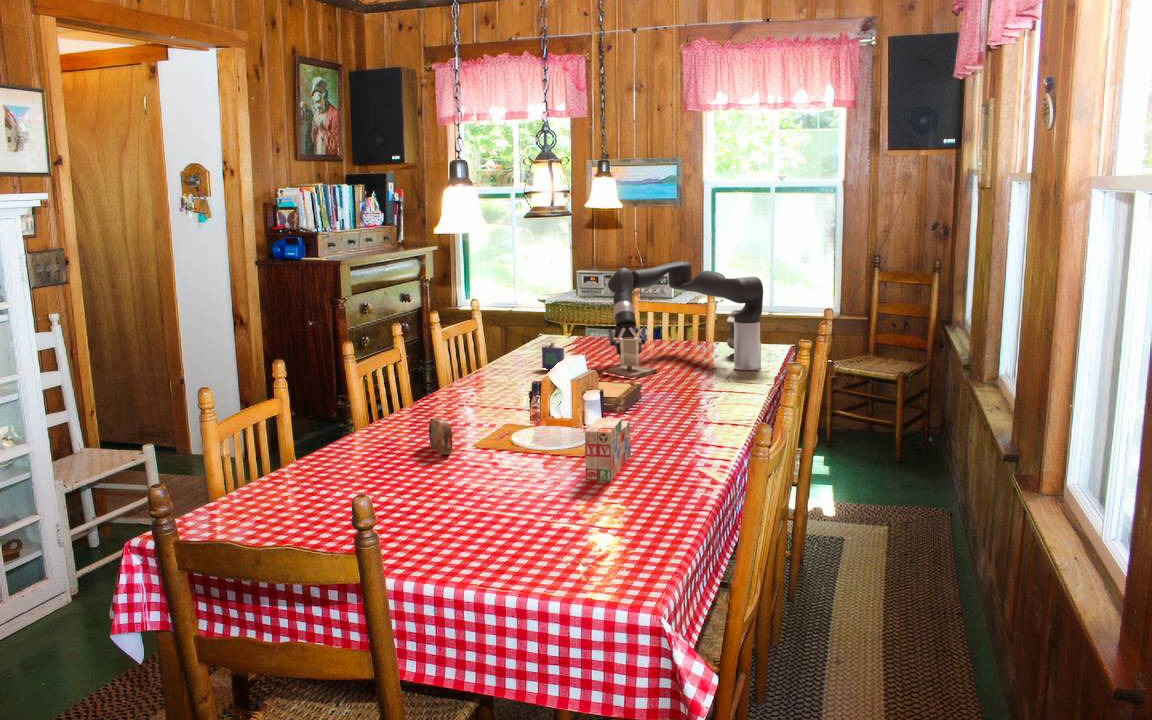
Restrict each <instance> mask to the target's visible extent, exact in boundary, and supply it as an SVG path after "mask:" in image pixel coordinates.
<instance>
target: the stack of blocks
mask: <svg viewBox="0 0 1152 720" xmlns="http://www.w3.org/2000/svg"><path fill="white" fill-rule="evenodd" d="M630 430H631V429H630V420H622V418H619V417H618V418H614V417H613V418H612V417H597V418H596V419H595V420H594V421H593V423H592V424H590V425H589V427H587V428H586V429H585V430H584V441H585V442H584V445H585V446H584V449H585V452H584V453H585V454H584V455H585V481H597V482H598V481H599V482H610V481H611V482H612V481H613V480H614V479H615V478H614V477H616V476H617V475H618V474H619V472H620V471H621V469H622V468H623V466H624V465H625V463H626V462H627V461H628V460H629V458H630V457H631V432H630ZM617 473H618V474H617ZM616 474H617V475H616ZM613 478H614V479H613ZM612 479H613V480H612Z"/></svg>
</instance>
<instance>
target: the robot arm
mask: <svg viewBox="0 0 1152 720" xmlns="http://www.w3.org/2000/svg"><path fill="white" fill-rule="evenodd" d="M692 272H693V268H692V263H691V262H689V261H683V260H682V261H680V260H679V261H673V262H671V261H670V262H668V263H664V264H659V265H657V266H654V267H650V268H645V269H644V268H642V269H635V270H630V269H628V268H626V267H620V268H618V269H617V270H616V271H615V272H614V274H613V275H612V276H611V277H610V278H609V280H608V283H607V286H608V287H607V288H608V289H609V291H610V292H612V293H613V309H614V310H613V312H614V313H613V314H614V315H613V316H614V322H615V329H611V328H609V329H608V330H607V335H608V340H609V345H610V346H611V347H615V350H616V354H617V355H618V356H619V355H621V349H620V344H619V342H620V340H619V338H625V337H635V338H636V337H637V338H638V341H639V355H641V353H642V351H643V349H642V346H643V345H646V341H647V338H646V337H647V336H646V334H647V333H646V331H647V329H646V327H642V328H638V326H637V319H636V311H635V307H634V303H633V292H634V290H635V289H642V288H643V289H644V288H649V287H652V286H654V285H655V284H657V283H658V282H659V281H660V280H661V279H662V278H663V277H664V276H665V275H667V274H668V286H669V287H670V288H671V289H673V290H677V291H684V292H685V291H686V292H694V293H697V294H701V295H705V296H709V297H715V298H723V299H726V300H728V301H730V302H732V303H736V304H744V306H743V307H742V308H741V309H739V310H740V311H739V312H737V313H736V314H735V315H734V349H733V353H734V358H733V368H734V369H736V370H740V371H756V370H759V369H760V367H762V363H761V362H762V341H761V316H762V314H763V303H764V285H763V282H762V280H761V279H760V278H759V277H757V276H745V277H736V278H734V277H733V278H726V277H725V275H724V274H722V273H721V272H719V271H712V270H704V271H700V273H698V274H697V275H696V276H695V277H692V276H693V273H692ZM638 333H639V335H640V336H641V339H640V337H639V336H638ZM615 334H616V335H617V339H616V340H615V339H614V336H615Z"/></svg>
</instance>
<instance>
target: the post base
mask: <svg viewBox="0 0 1152 720" xmlns="http://www.w3.org/2000/svg"><path fill="white" fill-rule="evenodd" d="M602 372H606V373H611V374H615V375H619V376H624V377H629V378H634V377H640V378H642V377H641V376H644V377H647V376H646V375H648V376H651V375H650V374H652V375H654V374H653V373H656V374H658V369H657V368H651V367H646V366H639V365H638V366H621V365H620V366H616V367H612V368H608V369H605V370H601V373H602Z"/></svg>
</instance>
